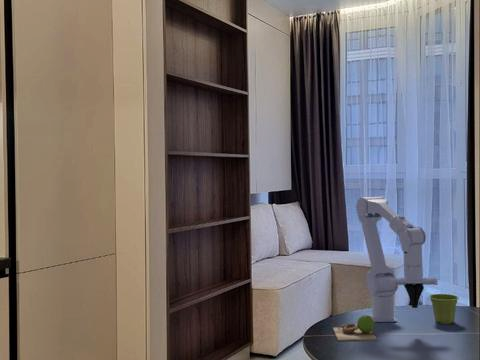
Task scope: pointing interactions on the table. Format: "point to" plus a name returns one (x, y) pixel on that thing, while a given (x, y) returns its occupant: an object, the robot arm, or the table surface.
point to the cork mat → (353, 335)
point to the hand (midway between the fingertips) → (414, 307)
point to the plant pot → (444, 307)
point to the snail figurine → (359, 325)
